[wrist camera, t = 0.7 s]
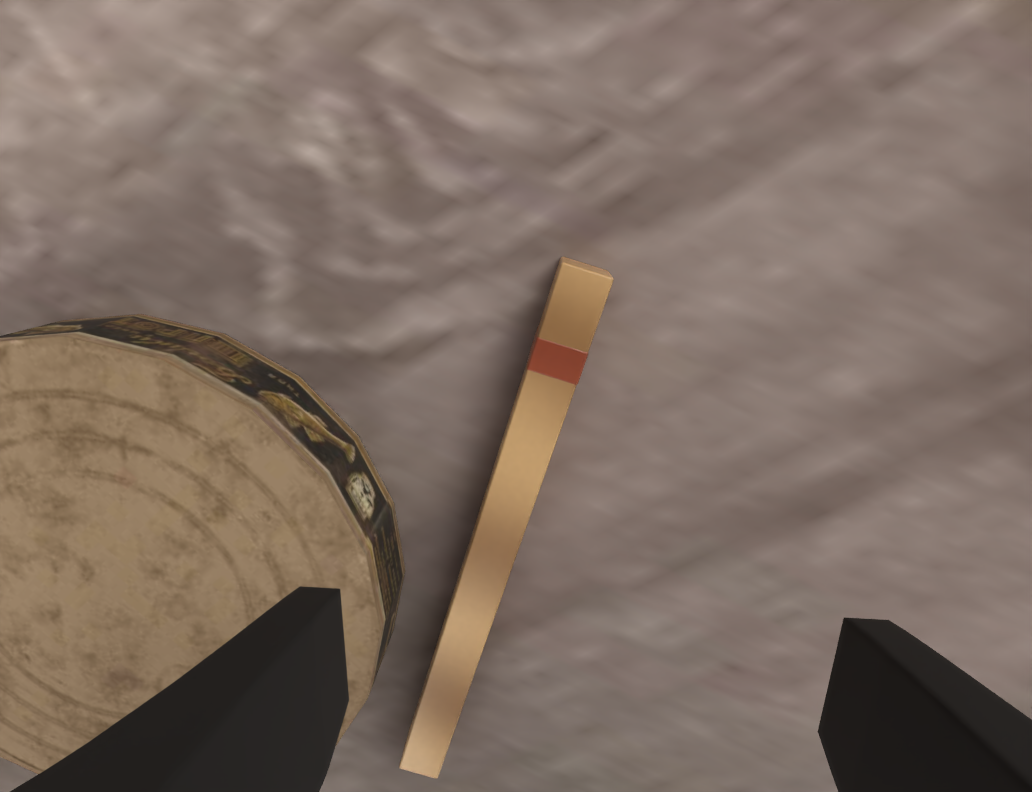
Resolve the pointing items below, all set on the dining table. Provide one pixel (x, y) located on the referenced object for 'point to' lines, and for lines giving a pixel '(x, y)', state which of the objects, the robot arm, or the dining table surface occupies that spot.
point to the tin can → (167, 520)
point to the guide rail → (507, 505)
